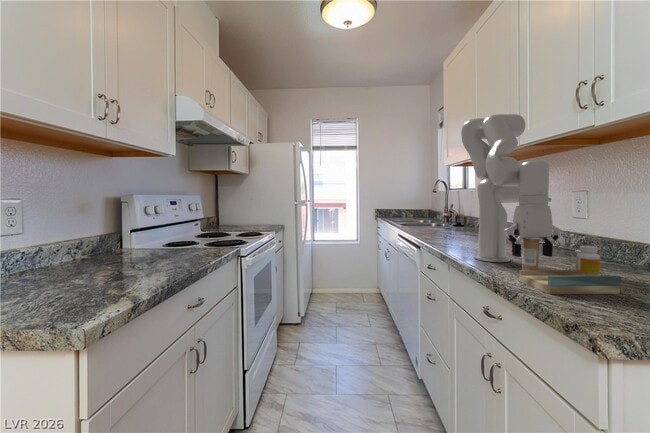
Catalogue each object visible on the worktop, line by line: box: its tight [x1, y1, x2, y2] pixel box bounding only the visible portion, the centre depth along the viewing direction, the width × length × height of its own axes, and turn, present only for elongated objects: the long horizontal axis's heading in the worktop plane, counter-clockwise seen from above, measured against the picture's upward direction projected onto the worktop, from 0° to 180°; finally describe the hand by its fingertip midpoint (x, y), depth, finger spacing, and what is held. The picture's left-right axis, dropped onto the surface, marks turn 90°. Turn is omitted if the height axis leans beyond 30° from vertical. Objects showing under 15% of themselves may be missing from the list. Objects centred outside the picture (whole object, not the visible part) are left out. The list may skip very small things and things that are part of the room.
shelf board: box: [518, 269, 622, 295], centre depth 83 cm, size 12×18×4 cm, turn 91°
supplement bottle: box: [575, 245, 601, 276], centre depth 91 cm, size 5×5×10 cm
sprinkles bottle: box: [521, 238, 541, 270], centre depth 95 cm, size 5×5×14 cm
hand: (531, 256), depth 95 cm, fingers open, 9 cm apart
